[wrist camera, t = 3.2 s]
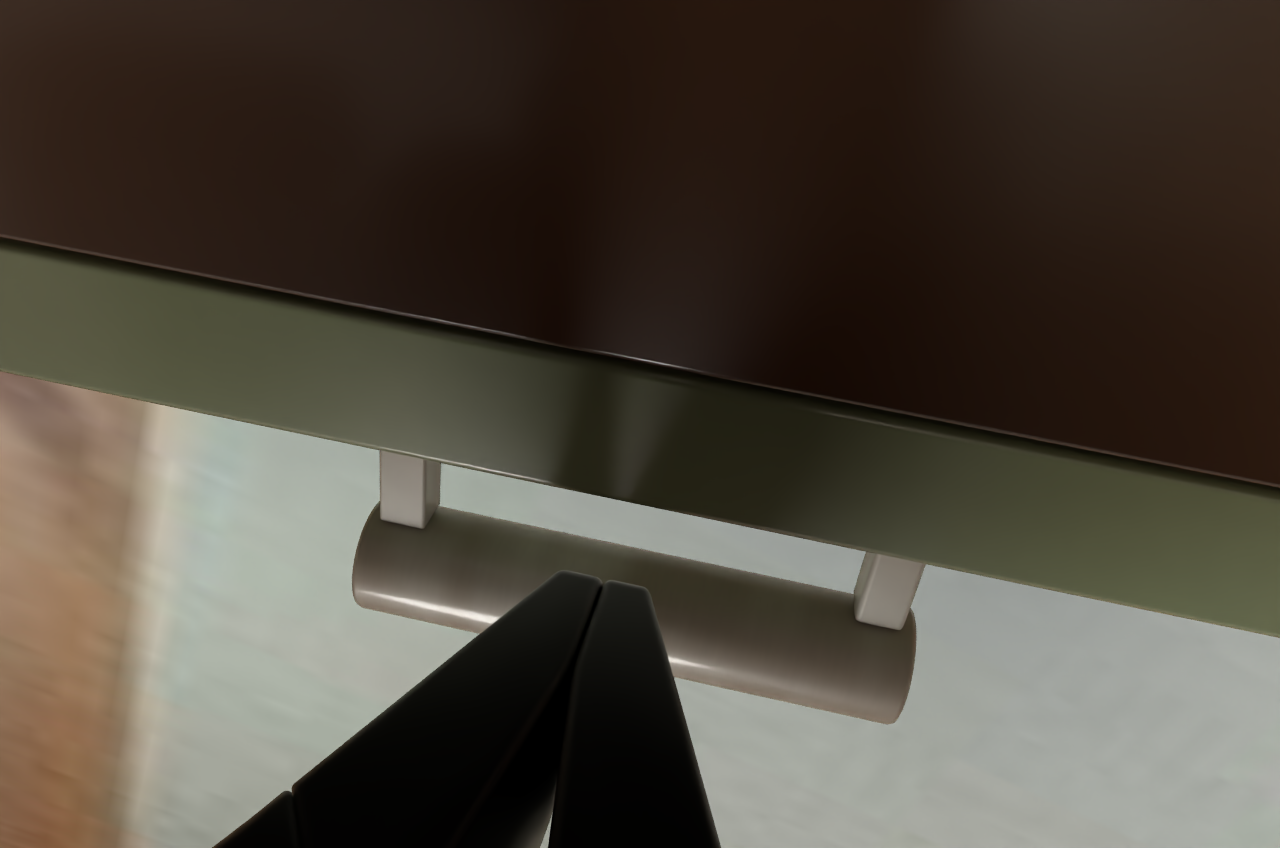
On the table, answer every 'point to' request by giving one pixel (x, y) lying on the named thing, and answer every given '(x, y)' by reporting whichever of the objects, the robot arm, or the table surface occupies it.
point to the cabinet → (713, 188)
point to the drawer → (651, 476)
